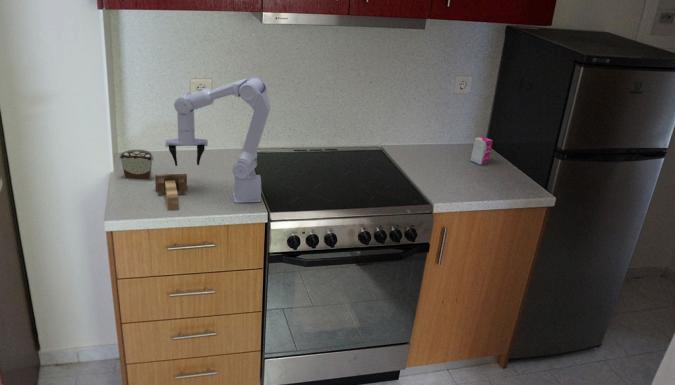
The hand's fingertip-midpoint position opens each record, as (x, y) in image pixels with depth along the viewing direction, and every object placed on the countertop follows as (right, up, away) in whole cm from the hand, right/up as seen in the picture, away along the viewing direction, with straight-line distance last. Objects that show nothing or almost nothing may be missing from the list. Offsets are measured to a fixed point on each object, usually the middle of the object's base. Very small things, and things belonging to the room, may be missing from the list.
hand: (187, 164), depth 216 cm
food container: (-21, -4, +11) cm, 24 cm away
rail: (-4, -13, -5) cm, 15 cm away
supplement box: (+119, +3, +55) cm, 130 cm away
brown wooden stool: (-6, -10, 0) cm, 12 cm away
